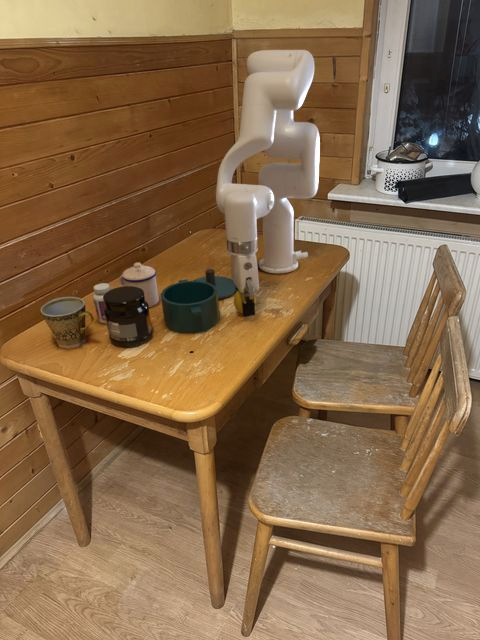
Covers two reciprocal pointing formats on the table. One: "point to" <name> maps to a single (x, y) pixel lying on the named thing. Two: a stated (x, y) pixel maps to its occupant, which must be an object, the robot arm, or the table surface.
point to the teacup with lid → (142, 281)
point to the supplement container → (127, 316)
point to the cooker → (190, 306)
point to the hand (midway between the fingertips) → (245, 309)
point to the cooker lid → (219, 283)
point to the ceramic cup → (67, 320)
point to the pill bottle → (100, 300)
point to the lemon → (239, 300)
